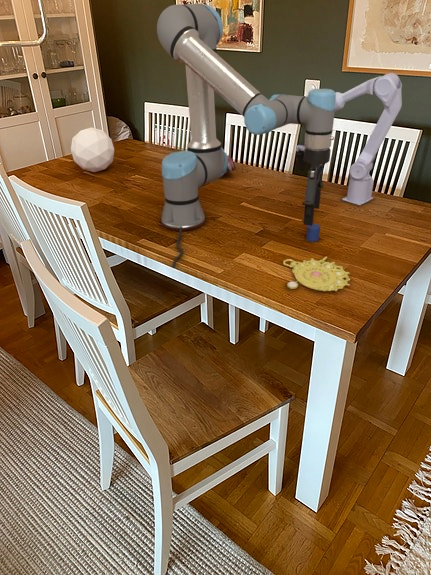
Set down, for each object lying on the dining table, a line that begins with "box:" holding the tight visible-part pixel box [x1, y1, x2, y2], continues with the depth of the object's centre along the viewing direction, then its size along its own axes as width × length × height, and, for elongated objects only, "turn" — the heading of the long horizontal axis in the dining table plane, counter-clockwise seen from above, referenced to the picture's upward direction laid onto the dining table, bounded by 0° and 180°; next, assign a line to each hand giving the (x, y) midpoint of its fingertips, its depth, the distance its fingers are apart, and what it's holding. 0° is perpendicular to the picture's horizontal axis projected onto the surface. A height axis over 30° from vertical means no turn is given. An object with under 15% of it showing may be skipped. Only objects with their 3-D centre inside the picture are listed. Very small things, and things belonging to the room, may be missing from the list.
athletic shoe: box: [224, 154, 237, 175], centre depth 198 cm, size 11×22×12 cm
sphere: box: [70, 126, 115, 173], centre depth 204 cm, size 19×20×20 cm
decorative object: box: [282, 255, 351, 292], centre depth 122 cm, size 21×2×20 cm
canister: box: [306, 223, 321, 242], centre depth 141 cm, size 4×4×4 cm
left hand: (311, 216), depth 139 cm, fingers open, 13 cm apart
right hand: (310, 172), depth 173 cm, fingers open, 7 cm apart
